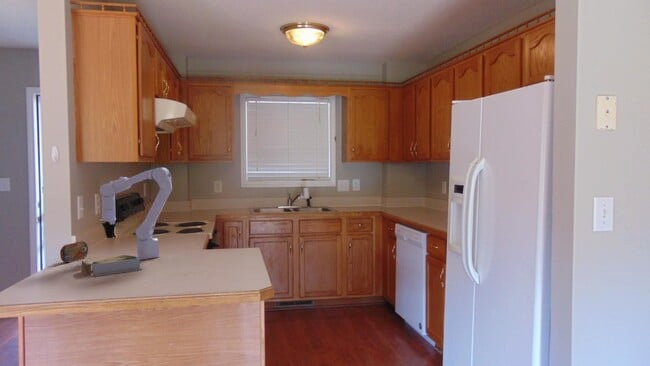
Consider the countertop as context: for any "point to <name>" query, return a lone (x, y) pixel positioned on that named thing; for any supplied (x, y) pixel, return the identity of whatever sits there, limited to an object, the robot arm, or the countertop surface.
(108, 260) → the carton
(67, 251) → the tin
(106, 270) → the grey long block
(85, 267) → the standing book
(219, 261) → the countertop surface
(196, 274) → the countertop surface
